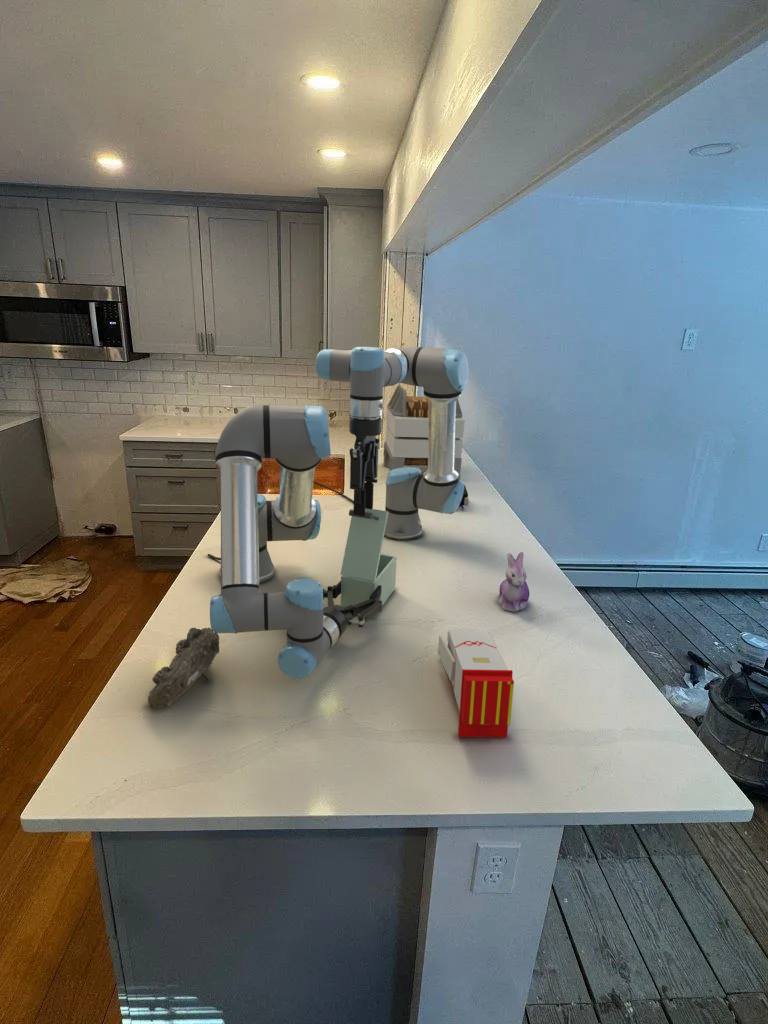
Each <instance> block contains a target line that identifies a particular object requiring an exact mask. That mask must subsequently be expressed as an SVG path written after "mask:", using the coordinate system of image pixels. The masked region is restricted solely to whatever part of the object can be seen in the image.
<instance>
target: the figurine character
mask: <svg viewBox="0 0 768 1024" xmlns="http://www.w3.org/2000/svg"><path fill="white" fill-rule="evenodd" d="M469 502H470V501H469V492H468V490H467V487H466V485H465V484H464V492H463V496H462V500H461V502H460V505H459V507H458V508H461V510H462V511H464V510H465V507H468V506H469Z"/></svg>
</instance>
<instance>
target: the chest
mask: <svg viewBox="0 0 768 1024" xmlns="http://www.w3.org/2000/svg"><path fill="white" fill-rule="evenodd" d="M397 558H398V557H397V556H396V555H391V554H386V553H381V555H380V560H379V565H378V571H377V576H376V581H375V582H374V581H369V580H364V579H359V578H354V577H349V576H344V575H341V576H340V581H341V593H340V606H341V607H347V606H349V605H353V606H354V605H356V604H359V603H361V602H364V601H366V600H369V599H370V595H371V594H372V593H373V592H374V591H375V589H376V588H377V587H378V586H379V585H380V586H382V588H381V598H380V601H382V607H383V606H384V605H385V603H386V602H387V600H388V599H389V597H390V596H391V595H392V593H393V592H394V591H395V589H396V577H397V560H398V559H397ZM376 616H377V615H375V616H374V617H373V618H372V619H375V617H376Z"/></svg>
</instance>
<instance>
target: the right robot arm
mask: <svg viewBox="0 0 768 1024" xmlns="http://www.w3.org/2000/svg"><path fill="white" fill-rule="evenodd" d="M468 361H469V360H468V358H467V356H466V355H465V353H464V352H463V351H461V350H459V349H452V348H441V347H425V346H424V347H422V346H408V347H400V348H388V349H386V350H385V351H384V349H383V348H381V347H377V346H355V347H353V348H352V350H344V349H342V350H341V349H333V348H331V349H330V348H329V349H325V348H324V349H322V350H320V351H319V352H318V353H317V355H316V358H315V372H316V375H317V376H318V378H320V379H321V380H325V381H329V382H341V383H349V384H350V387H349V388H350V389H349V391H350V393H349V394H350V395H349V415H350V418H349V426H348V427H349V430H348V431H349V433H350V434H351V435H353V436H355V441H354V446H353V448H352V447H351V448H349V457H350V459H349V461H350V463H349V464H350V465H349V490H353V499H352V498H350V497H348V496H347V495H345V494H343V493H342V492H340V491H338V490H336V489H333V488H331V487H329V486H327V485H324V484H322V483H319V482H317V481H314V483H313V484H315V485H317V486H319V487H321V488H325V489H327V490H329V491H332V492H333V493H335V494H338V495H339V496H341V497H343V498H345V499H346V500H347V501H350V502H351V503H352V504H353V507H354V514H353V515H359V516H365V508H366V509H374V484H377V483H378V481H379V480H378V479H377V478H378V469H379V468H378V467H379V447H380V441H381V440H380V438H376V437H378V436H380V435H381V434H382V430H383V428H382V427H383V419H382V416H383V409H384V408H385V403H383V402H384V400H383V399H384V388H386V387H393V386H396V385H397V384H403V385H408V386H412V387H419V388H420V387H421V388H422V389H423V397H426V398H427V399H428V466H427V469H426V470H424V472H423V474H422V470H421V468H419V467H416V466H406V467H405V466H404V468H397V469H393V470H391V471H390V470H389V471H388V473H387V475H386V480H385V481H386V482H385V504H384V505H385V507H384V508H385V509H384V511H388V517H387V523H386V528H385V533H384V538H387V539H389V540H395V541H410V540H415V539H418V538H420V537H421V536H422V535H423V525H422V524H421V523H422V521H421V518H420V515H419V510H423V511H428V512H434V513H440V514H441V515H442V514H446V515H453V514H455V513H456V512H457V510H458V509H459V508H460V507H459V505H460V502H461V500H462V496H463V492H464V485H465V482H464V481H462V480H461V479H460V481H459V480H458V477H459V474H458V472H457V471H456V470H454V457H455V424H456V400H457V399H458V400H459V398H460V397H461V396H462V392H463V391H465V390H467V387H468V385H469V378H470V366H469V362H468ZM278 467H279V469H280V465H279V464H278Z"/></svg>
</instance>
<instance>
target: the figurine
mask: <svg viewBox="0 0 768 1024" xmlns="http://www.w3.org/2000/svg"><path fill="white" fill-rule="evenodd" d="M506 556H507V569H506V571H505V579H504V580H502V581H501V583H500V585H499V591H498V592H499V593H498V597H497V598H498V600H497V601H498V604H499V605H500V606H501V607H502V609H503V610H505V611H507V612H508V611H509V612H518V611H520V610H521V611H522V610H524V609H525V608H526V607H527V605H528V601H529V599H530V588H529V585H528V584H527V581H526V580H527V571H526V570H525V567H524V552H523V551H520V552H519V553H518V555H517V557H516V559H515V557H514V556H513V554H512V553H511V552H508V553H507V555H506Z"/></svg>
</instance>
